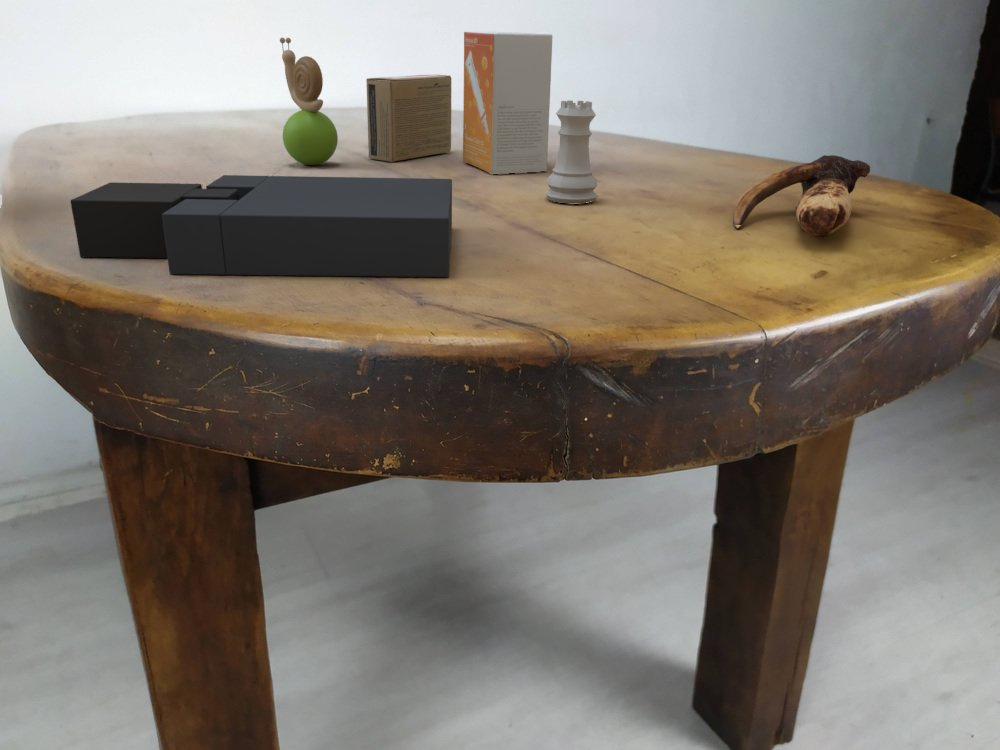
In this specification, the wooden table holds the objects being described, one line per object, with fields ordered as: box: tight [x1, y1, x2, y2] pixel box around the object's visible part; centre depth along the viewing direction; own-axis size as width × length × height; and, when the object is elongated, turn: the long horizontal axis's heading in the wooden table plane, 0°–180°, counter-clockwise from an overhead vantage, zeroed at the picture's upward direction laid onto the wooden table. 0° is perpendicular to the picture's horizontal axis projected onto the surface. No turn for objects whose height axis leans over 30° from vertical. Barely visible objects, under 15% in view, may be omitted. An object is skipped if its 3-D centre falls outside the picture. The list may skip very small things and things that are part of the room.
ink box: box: [365, 74, 452, 163], centre depth 91 cm, size 10×4×8 cm, turn 144°
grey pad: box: [162, 174, 453, 278], centre depth 53 cm, size 16×13×4 cm
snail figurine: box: [279, 37, 339, 166], centre depth 83 cm, size 5×6×12 cm
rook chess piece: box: [544, 99, 598, 203], centre depth 69 cm, size 4×4×8 cm
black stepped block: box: [69, 182, 239, 259], centre depth 53 cm, size 9×6×4 cm
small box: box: [462, 31, 553, 176], centre depth 84 cm, size 8×6×13 cm
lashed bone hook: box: [732, 154, 871, 237], centre depth 64 cm, size 9×5×18 cm
